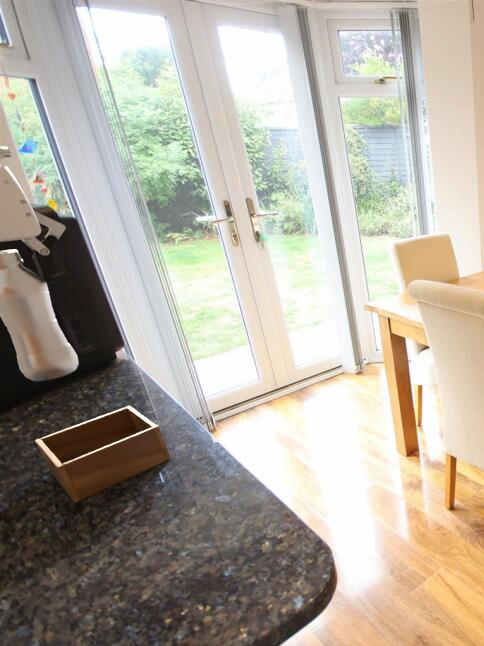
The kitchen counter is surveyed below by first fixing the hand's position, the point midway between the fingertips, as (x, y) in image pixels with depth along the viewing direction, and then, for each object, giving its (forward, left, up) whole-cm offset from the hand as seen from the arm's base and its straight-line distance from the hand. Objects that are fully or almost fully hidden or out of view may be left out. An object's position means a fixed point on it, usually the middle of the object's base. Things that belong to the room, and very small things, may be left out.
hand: (15, 285), depth 68 cm
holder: (+9, -10, -27) cm, 30 cm away
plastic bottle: (0, 0, -15) cm, 15 cm away
